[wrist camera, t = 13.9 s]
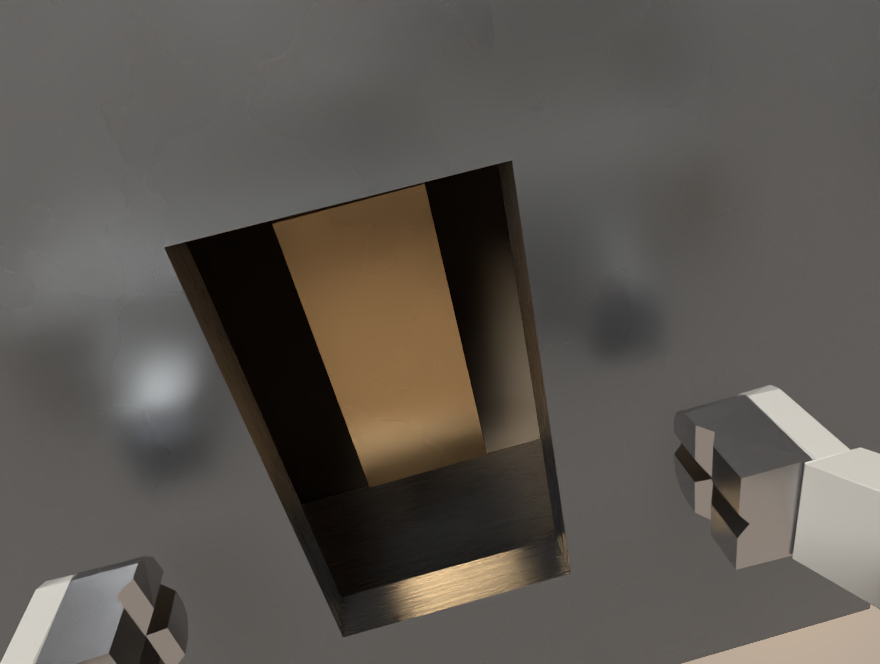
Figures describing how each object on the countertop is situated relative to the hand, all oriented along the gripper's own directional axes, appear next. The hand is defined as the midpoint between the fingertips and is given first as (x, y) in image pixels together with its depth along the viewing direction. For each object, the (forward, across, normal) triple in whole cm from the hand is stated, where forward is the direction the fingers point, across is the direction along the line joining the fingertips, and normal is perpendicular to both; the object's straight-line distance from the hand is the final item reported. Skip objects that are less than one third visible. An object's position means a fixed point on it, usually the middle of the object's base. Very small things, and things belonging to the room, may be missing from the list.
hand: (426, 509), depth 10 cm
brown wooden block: (+10, 0, 0) cm, 10 cm away
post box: (+10, 0, 0) cm, 10 cm away
